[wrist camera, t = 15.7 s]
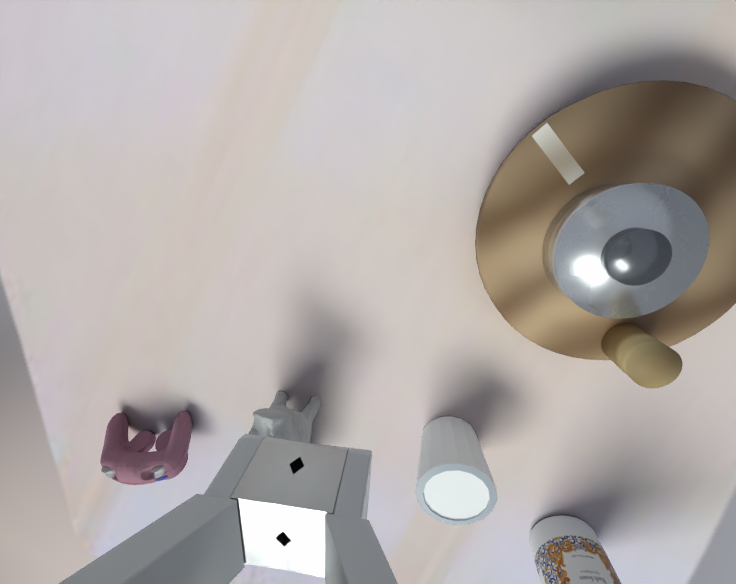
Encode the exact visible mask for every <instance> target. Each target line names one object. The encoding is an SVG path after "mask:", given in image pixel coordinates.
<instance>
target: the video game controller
mask: <svg viewBox="0 0 736 584" xmlns="http://www.w3.org/2000/svg"><path fill="white" fill-rule="evenodd" d="M191 431H192V421H191V416H190V414H189V412H188V411H182V412H180V413H179V414H178V416H177V417H176V419H175V421H174V423H173V427H172V430H167V431H165V432H163V433H162V434H160V436H159V437H158V438H157V440H156V437H155V435H154V434H153V433H151V432H149V431H146V430H145V431H142V432H140V433H138V434H137V435H136V436H135V437H134V438H133V439H132V440H131V441H130V442H129V441H128V422H127V418H126V416H125V414H123V413H118V414H116V415H115V416H114V417H112V419H111V420H110V422H109V424H108V426H107V430H106V435H105V441H104V447H103V451H102V455H101V461H100V462H101V466H102V472H104V473H105V474H106V476H108V477H109V478H112V479H114V480H116V481H118V482H120V483H123V484H129V485H143V484H148V483H153V482H156V481H161V480H167V479H171V478H173V477H175V476H177V475H178V474H179V473H180V472H181V471H182V470H183V468H184V467H185V465H186V463H187V460H188V453H187V452H188V448H189V443H190V438H191ZM155 440H156V445H155V447H156V450H157V451H154V452H148V451H149V450H150V449H151V448H152V447H153V445H154V443H155Z"/></svg>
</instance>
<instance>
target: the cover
mask: <svg viewBox="0 0 736 584" xmlns="http://www.w3.org/2000/svg"><path fill="white" fill-rule="evenodd" d="M708 248H709V228H708V224H707V221H706V218H705V216H704V214H703V212H702V210H701V209H700V207H699V206H698V205H697V203H696V202H695V201H694V200H693V199H692V198H691V197H689V196H688V195H686V194H685V193H683V192H682V191H680V190H678V189H675V188H673V187H670V186H666V185H662V184H655V183H608V184H604V185H600V186H596V187H594V188H591V189H589V190H586V191H584V192H582V193H581V194H579V195H577V196H576V197H574V198H573V199H572V200H570V201H569V202H568V203H567V204H565V205H564V206H563V207H562V209H561V210H560V211H559V212H558V213H557V214H556V216H555V217H554V218H553V220H552V222H551V223H550V225H549V227H548V229H547V231H546V234H545V237H544V240H543V246H542V262H543V266H544V270H545V272H546V275H547V277H548V279H549V280H550V282H551V283H552V284H553V286H554V287H555V288H556V289H557V290H558V291H560V292H561V293H562V294H563V295H565V296H566V297H567V298H568V299H570V300H571V301H572V302H574V303H575V304H576V305H577V306H579V307H580V308H582V309H583V310H585V311H587V312H589V313H591V314H594V315H597V316H600V317H606V318H614V319H624V318H633V317H638V316H642V315H646V314H649V313H651V312H654V311H657V310H659V309H661V308H663V307H665V306H666V305H668V304H669V303H671V302H672V301H674V300H675V299H677V298H678V297H679V296H680V295H682V294H683V293H684V292H685V291H686V290H687V289H688V288H689V287H690V285H691V284H692V283H693V282H694V280H695V279H696V278H697V276H698V274H699V273H700V271H701V269H702V267H703V265H704V263H705V260H706V257H707V254H708Z"/></svg>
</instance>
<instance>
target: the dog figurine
mask: <svg viewBox="0 0 736 584" xmlns="http://www.w3.org/2000/svg"><path fill="white" fill-rule="evenodd" d="M286 401H287V395H286V393H285V392H283V391H278V392H277V393H276V396H275V399H274V401H273V403H272V405H271V407H270V408H269V409H268V408H265V409H259V410H257V411H255V412H254V413H253V416H254V423H253V426H252V428H251V431H250V432H249V434H250V435H256V436H262V437H272V438H278V439H284V440H290V441H297V442H303V443H309V442H310V438H311V424H312V422H313V420H314V418H315V416H316V415H317V412H318V410H319V408H320V406H321V400H320V398H319V397H316V396H313V397H311V399H310V401H309V403H308V404H307V405H306V407H305V408H304V409H303V410H302V411H301V412H298V411H295V410H292V409H289V408H287V407H286V406H285V405H286Z"/></svg>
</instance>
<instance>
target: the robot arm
mask: <svg viewBox="0 0 736 584" xmlns="http://www.w3.org/2000/svg"><path fill="white" fill-rule="evenodd" d="M371 459H372V451H371V450H363V449H355V448H346V447H338V446H330V445H321V444H313V443H303V442H297V441H290V440H284V439H278V438H272V437H262V436H256V435H250V434H245V435H243V436H242V437H241V438H240V439H239V440H238V442H237V443H236V445H235V447H234V448H233V450H232V451H231V453H230V454H229V456H228V458H227V459H226V461H225V462H224V464H223V465H222V467H221V469H220V470H219V472H218V473H217V475H216V476H215V478H214V480H213V481H212V483H211V484H210V486H209V487H208V489H207V490H206V492H205V494H204V495H202V494H196V495H195V496H193V497H192V498H190V499H188V500H187V501H185V502H184V503H182V504H181V505H179V506H178V507H176V508H175V509H173V510H171V511H170V512H168V513H167V514H165V515H164V516H162V517H161V518H159V519H158V520H156V521H154V522H153V523H151V524H150V525H148V526H147V527H145V528H144V529H142V530H141V531H139V532H138V533H136V534H134V535H133V536H131V537H130V538H128V539H127V540H125V541H124V542H122V543H121V544H119V545H117V546H116V547H114V548H113V549H111V550H110V551H108V552H107V553H105V554H104V555H102V556H100V557H99V558H97V559H96V560H94V561H93V562H91V563H90V564H88V565H87V566H85V567H84V568H82V569H80V570H79V571H77V572H76V573H74V574H73V575H71V576H70V577H68V578H67V579H65V580H63V581H62V582H60V583H59V584H229V583H230V582H231V581H232V580H233V579H234V578H235V577H236V576H237V574H238V573H239V572H240V571H241V570H242V569H243V568H244V564H248V565H255V566H263V567H270V568H277V569H284V570H289V571H294V572H299V573H304V574H309V575H314V576H319V577H324V578H325V583H326V584H398V583H397V581H396V579H395V576H394V574H393V572H392V570H391V568H390V566H389V563H388V561H387V559H386V557H385V555H384V552H383V550H382V548H381V546H380V544H379V542H378V539H377V537H376V535H375V533H374V531H373V528H372V526H371V524H370V522H369V520H367V511H368V500H369V489H370V474H371Z"/></svg>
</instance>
